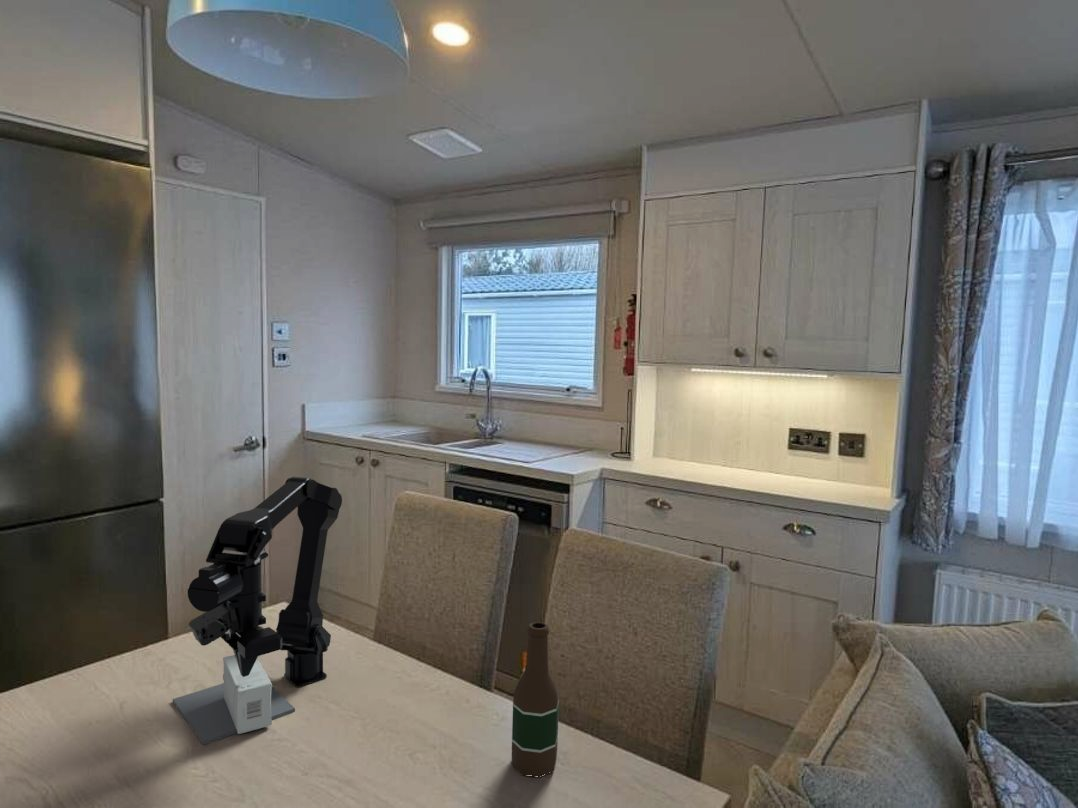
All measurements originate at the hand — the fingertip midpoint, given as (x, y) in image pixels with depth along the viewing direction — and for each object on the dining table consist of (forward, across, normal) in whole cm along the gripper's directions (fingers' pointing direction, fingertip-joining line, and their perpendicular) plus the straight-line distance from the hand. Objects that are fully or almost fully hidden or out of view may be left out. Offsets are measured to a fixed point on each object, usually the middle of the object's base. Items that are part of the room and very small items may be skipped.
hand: (244, 675), depth 119 cm
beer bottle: (+10, +41, +32) cm, 53 cm away
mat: (+10, -9, +1) cm, 14 cm away
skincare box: (+6, +3, +1) cm, 6 cm away
